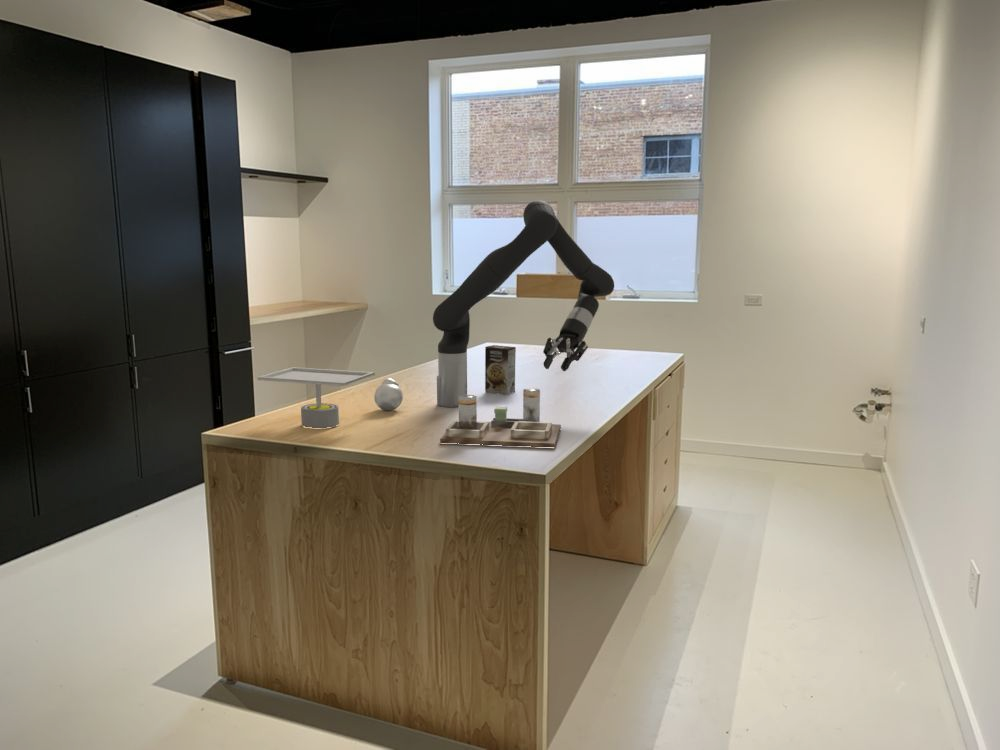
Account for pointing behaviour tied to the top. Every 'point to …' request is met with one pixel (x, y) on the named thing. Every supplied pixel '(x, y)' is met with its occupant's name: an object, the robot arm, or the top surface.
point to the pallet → (505, 433)
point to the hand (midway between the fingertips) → (554, 368)
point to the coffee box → (500, 369)
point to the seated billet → (468, 412)
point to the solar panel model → (318, 391)
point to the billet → (531, 404)
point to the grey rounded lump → (388, 395)
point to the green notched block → (500, 413)
